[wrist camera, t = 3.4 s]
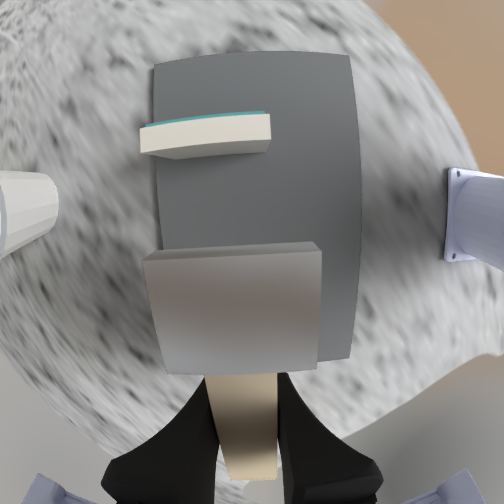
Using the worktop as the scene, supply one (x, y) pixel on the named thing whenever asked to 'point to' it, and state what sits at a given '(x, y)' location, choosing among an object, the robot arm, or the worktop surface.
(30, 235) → the white cup
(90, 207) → the worktop surface
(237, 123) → the tile
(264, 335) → the turner
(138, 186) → the worktop surface
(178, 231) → the mat
